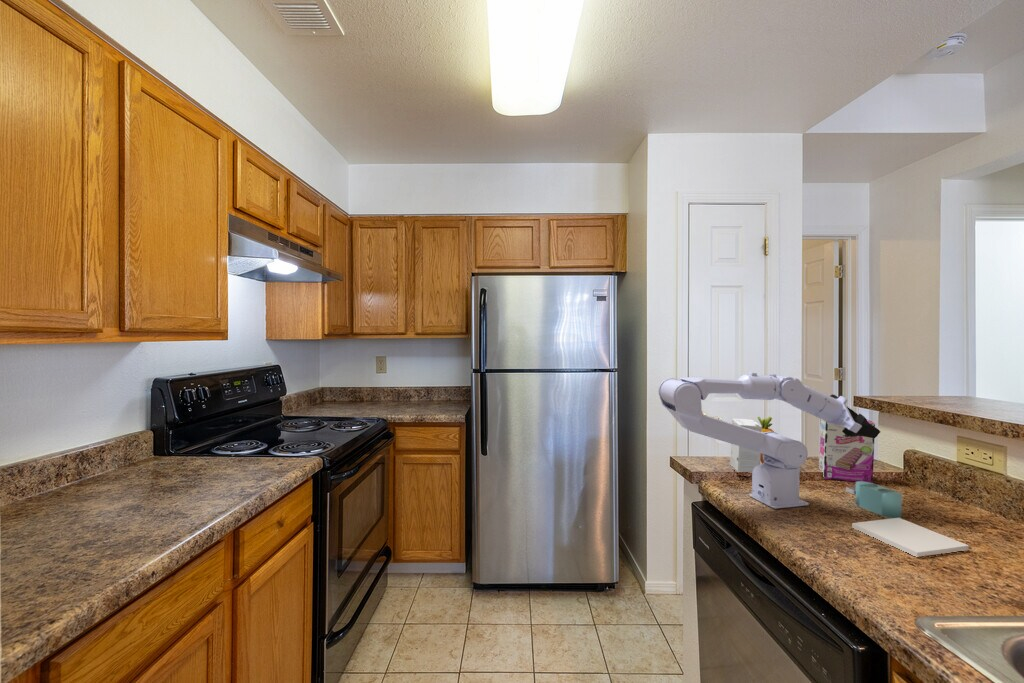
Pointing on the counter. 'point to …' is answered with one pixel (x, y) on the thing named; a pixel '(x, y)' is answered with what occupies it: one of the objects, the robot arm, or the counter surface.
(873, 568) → the counter surface
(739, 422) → the skincare box
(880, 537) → the tile
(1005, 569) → the counter surface
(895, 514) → the plug block
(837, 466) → the candy bar box
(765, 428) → the carrot
